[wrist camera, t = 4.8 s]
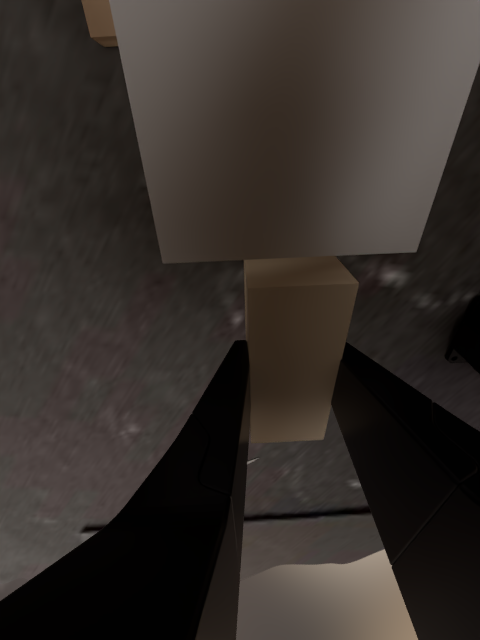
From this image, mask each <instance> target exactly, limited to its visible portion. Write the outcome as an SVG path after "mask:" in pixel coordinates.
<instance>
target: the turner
mask: <svg viewBox="0 0 480 640" xmlns="http://www.w3.org/2000/svg"><path fill="white" fill-rule="evenodd" d="M109 3H110V8H111V13H112V17H113V22H114V27H115V32H116V37H117V42H118V47H119V52H120V57H121V61H122V66H123V71H124V76H125V81H126V86H127V91H128V96H129V101H130V105H131V110H132V115H133V120H134V125H135V130H136V135H137V140H138V145H139V150H140V154H141V159H142V164H143V169H144V174H145V179H146V184H147V189H148V194H149V198H150V203H151V208H152V213H153V218H154V223H155V228H156V233H157V238H158V242H159V247H160V252H161V257H162V262H163V264H165V263H187V262H209V261H231V260H244V288H245V322H246V340H247V344H248V354H249V364H250V395H251V414H250V432H251V443H267V442H287V441H308V440H323V439H324V435H325V430H326V426H327V421H328V417H329V413H330V408H331V400H332V395H333V391H334V386H335V382H336V377H337V373H338V369H339V364H340V360H341V359H342V356H343V352H344V347H345V343H346V338H347V334H348V330H349V325H350V321H351V317H352V312H353V308H354V303H355V299H356V295H357V290H358V286H359V283H358V281H357V280H356V279H355V278H354V277H353V276H352V275H351V273H350V272H349V271H348V270H347V269H346V268H345V267H344V265H343V264H342V263H341V262H340V261H339V260H338V259H337V257H336V256H341V255H363V254H385V253H407V252H416V251H417V248H418V245H419V242H420V239H421V236H422V233H423V230H424V227H425V224H426V221H427V218H428V215H429V212H430V209H431V206H432V203H433V200H434V197H435V194H436V191H437V188H438V185H439V182H440V179H441V176H442V173H443V170H444V167H445V164H446V161H447V158H448V155H449V152H450V149H451V146H452V143H453V140H454V137H455V134H456V132H457V129H458V126H459V123H460V120H461V117H462V114H463V111H464V108H465V105H466V102H467V99H468V96H469V93H470V90H471V87H472V84H473V81H474V78H475V75H476V72H477V69H478V66H479V63H480V0H109Z"/></svg>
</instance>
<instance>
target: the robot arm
mask: <svg viewBox="0 0 480 640" xmlns="http://www.w3.org/2000/svg"><path fill="white" fill-rule="evenodd" d="M445 358H446V359H447V360H448V361H449V362H450V363H459V362H468V363H469V364H470V365H471V366H472V367H473V368H474V369H475V370H476V371H477V372H478V373H479V374H480V296H478V297H476V298H475V299H474V300H473V301H472V303H471V305H470V307H469V309H468V311H467V313H466V315H465V317H464V319H463V321H462V323H461V325H460V327H459V329H458V332H457V334H456V336H455V338H454V340H453V342H452V344H451V346H450V348H449V350H448V352H447V354H446V357H445ZM331 405H332V408H333V411H334V413H335V416H336V419H337V421H338V424H339V427H340V430H341V432H342V435H343V438H344V440H345V443H346V446H347V448H348V451H349V454H350V456H351V459H352V462H353V465H354V467H355V470H356V473H357V475H358V478H359V481H360V483H361V486H362V489H363V491H364V494H365V497H366V499H367V502H368V505H369V508H370V510H371V513H372V516H373V518H374V521H375V524H376V526H377V529H378V532H379V534H380V537H381V540H382V542H383V545H384V548H385V551H386V553H387V556H388V559H389V561H390V564H391V565H392V570H393V572H394V575H395V578H396V581H397V583H398V586H399V589H400V591H401V594H402V597H403V599H404V602H405V605H406V608H407V610H408V613H409V615H410V618H411V621H412V623H413V626H414V629H415V631H416V634H417V637H418V640H480V432H479V431H478V430H476V429H475V428H473V427H471V426H470V425H468V424H467V423H465V422H464V421H462V420H461V419H459V418H458V417H456V416H454V415H453V414H451V413H450V412H448V411H447V410H445V409H444V408H443V407H441V406H440V405H438V404H437V403H435V402H434V403H433V402H432V400H431V399H429V398H428V397H426V396H425V395H423V394H422V393H420V392H419V391H417V390H416V389H414V388H413V387H412V386H410V385H409V384H407V383H406V382H404V381H403V380H401V379H400V378H398V377H397V376H395V375H394V374H392V373H391V372H390V371H388V370H387V369H385V368H384V367H382V366H381V365H379V364H378V363H376V362H375V361H373V360H372V359H371V358H369V357H368V356H366V355H365V354H363V353H362V352H360V351H359V350H357V349H356V348H354V347H353V346H351V345H350V344H349V343H347V342H346V343H345V347H344V352H343V356H342V359H341V360H340V364H339V369H338V373H337V377H336V382H335V386H334V391H333V395H332V400H331ZM250 414H251V395H250V364H249V354H248V344H247V340H236V341H235V342H234V343H233V345H232V346H231V348H230V350H229V352H228V353H227V355H226V357H225V358H224V360H223V362H222V363H221V365H220V367H219V368H218V370H217V372H216V373H215V375H214V377H213V378H212V380H211V382H210V383H209V385H208V387H207V388H206V390H205V392H204V394H203V395H202V397H201V399H200V400H199V402H198V404H197V405H196V407H195V409H194V410H193V412H192V414H191V415H190V417H189V419H188V420H187V422H186V424H185V425H184V427H183V428H182V430H181V431H180V433H179V435H178V436H177V438H176V439H175V441H174V442H173V443H172V445H171V446H170V448H169V449H168V450H167V452H166V453H165V454H164V456H163V457H162V458H161V460H160V461H159V462H158V464H157V465H156V466H155V468H154V469H153V470H152V472H151V473H150V474H149V475H148V477H147V478H146V479H145V481H144V482H143V483H142V485H141V486H140V487H139V488H138V490H137V491H136V492H135V494H134V495H133V496H132V498H131V499H130V500H129V501H128V503H127V504H126V505H125V506H124V508H123V509H122V510H121V511H120V512H119V513H118V514H117V515H116V517H115V518H113V519H112V520H111V521H110V522H109V523H108V524H107V525H106V526H105V527H104V528H103V529H101V530H100V531H99V532H97V533H96V534H95V535H93V536H92V537H90V538H89V539H88V540H86V541H85V542H83V543H82V544H81V545H79V546H78V547H76V548H75V549H73V550H72V551H71V552H69V553H68V554H66V555H65V556H63V557H62V558H61V559H59V560H58V561H56V562H55V563H54V564H52V565H51V566H49V567H48V568H46V569H45V570H44V571H42V572H41V573H39V574H38V575H37V576H35V577H34V578H32V579H31V580H29V581H28V582H27V583H25V584H24V585H22V586H21V587H20V588H18V589H17V590H15V591H14V592H12V593H11V594H10V595H8V596H7V597H5V598H4V599H3V600H1V601H0V640H236V630H237V614H238V598H239V584H240V568H241V553H242V537H243V522H244V506H245V491H246V475H247V460H248V444H249V429H250Z"/></svg>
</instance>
